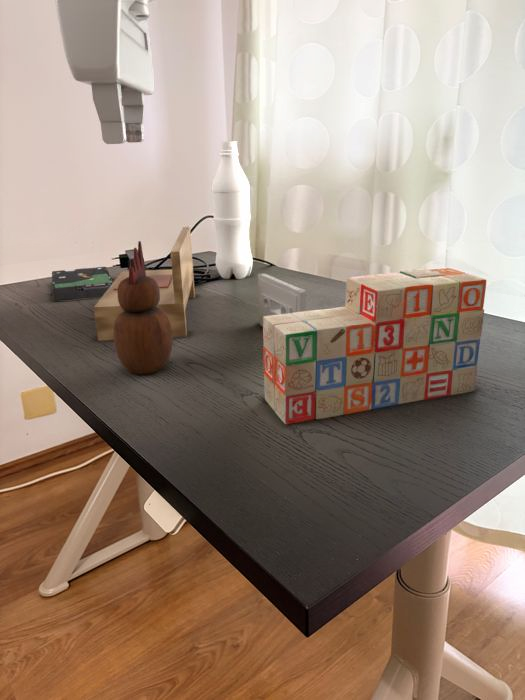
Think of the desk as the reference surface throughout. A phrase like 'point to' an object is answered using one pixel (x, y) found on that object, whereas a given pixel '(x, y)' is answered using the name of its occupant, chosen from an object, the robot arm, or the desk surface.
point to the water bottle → (231, 215)
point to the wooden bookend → (172, 289)
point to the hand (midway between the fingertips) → (125, 143)
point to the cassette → (278, 297)
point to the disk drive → (80, 283)
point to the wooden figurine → (141, 322)
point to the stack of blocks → (376, 345)
